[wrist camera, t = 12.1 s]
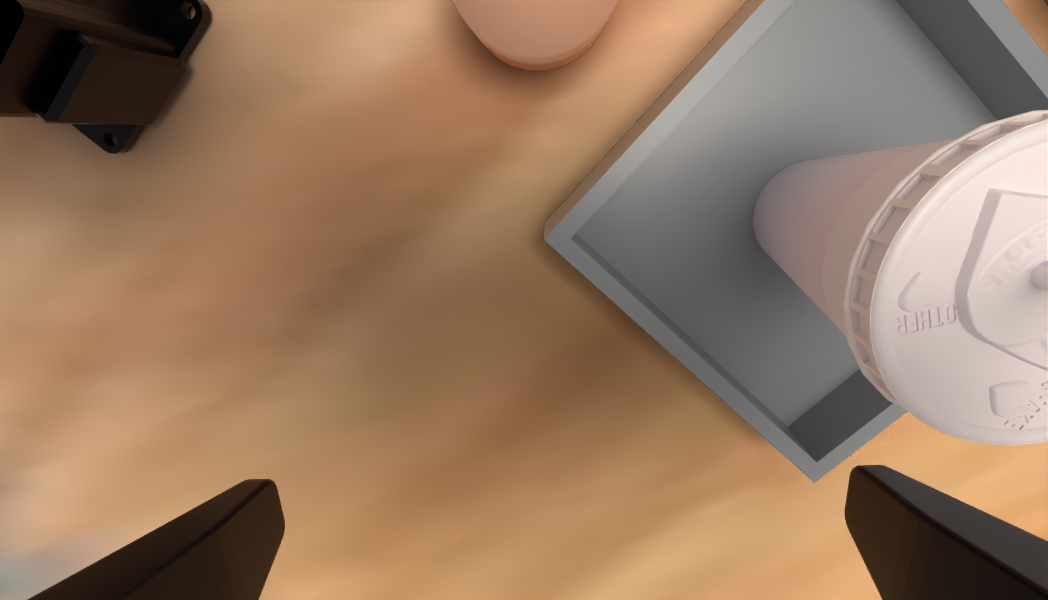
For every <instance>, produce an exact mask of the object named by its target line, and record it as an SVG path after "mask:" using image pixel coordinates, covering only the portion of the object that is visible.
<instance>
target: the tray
mask: <svg viewBox="0 0 1048 600" xmlns="http://www.w3.org/2000/svg"><path fill="white" fill-rule="evenodd" d="M1036 110H1048V57H1047V55H1046V54H1045V53H1044V52H1043V50H1042V49H1041V48H1040V47H1039V45H1038V44H1037V43H1036V42H1035V40H1034V39H1033V38H1032V37H1031V35H1030V34H1029V33H1028V32H1027V30H1026V29H1025V28H1024V27H1023V25H1022V24H1021V23H1020V22H1019V20H1018V19H1017V18H1016V17H1015V15H1014V14H1013V13H1012V12H1011V10H1010V9H1009V8H1008V7H1007V5H1006V4H1005V3H1004V2H1003V0H748V1H747V2H746V3H745V4H744V5H743V6H742V7H741V8H740V10H739V11H738V12H737V13H736V14H735V15H734V16H733V17H732V18H731V19H730V21H729V22H728V23H727V24H726V25H725V26H724V27H723V28H722V29H721V30H720V31H719V33H718V34H717V35H716V36H715V37H714V38H713V39H712V40H711V41H710V42H709V44H708V45H707V46H706V47H705V48H704V49H703V50H702V51H701V52H700V53H699V54H698V56H697V57H696V58H695V59H694V60H693V61H692V62H691V63H690V64H689V65H688V66H687V68H686V69H685V70H684V71H683V72H682V73H681V74H680V75H679V76H678V77H677V79H676V80H675V81H674V82H673V83H672V84H671V85H670V86H669V87H668V88H667V89H666V91H665V92H664V93H663V94H662V95H661V96H660V97H659V98H658V99H657V100H656V101H655V103H654V104H653V105H652V106H651V107H650V108H649V109H648V110H647V111H646V112H645V114H644V115H643V116H642V117H641V118H640V119H639V120H638V121H637V122H636V123H635V124H634V126H633V127H632V128H631V129H630V130H629V131H628V132H627V133H626V134H625V135H624V137H623V138H622V139H621V140H620V141H619V142H618V143H617V144H616V145H615V146H614V147H613V149H612V150H611V151H610V152H609V153H608V154H607V155H606V156H605V157H604V158H603V159H602V161H601V162H600V163H599V164H598V165H597V166H596V167H595V168H594V169H593V170H592V172H591V173H590V174H589V175H588V176H587V177H586V178H585V179H584V180H583V181H582V182H581V184H580V185H579V186H578V187H577V188H576V189H575V190H574V191H573V192H572V193H571V194H570V196H569V197H568V198H567V199H566V200H565V201H564V202H563V203H562V204H561V205H560V207H559V208H558V209H557V210H556V211H555V212H554V213H553V214H552V215H551V216H550V217H549V219H548V220H547V221H546V222H545V223H544V241H546V242H547V243H548V244H549V245H550V246H551V247H552V248H553V249H554V250H556V251H557V252H558V253H559V254H560V255H561V256H562V257H563V258H564V259H566V260H567V261H568V262H569V263H570V264H571V265H572V266H573V267H574V268H576V269H577V270H578V271H579V272H580V273H581V274H582V275H583V276H585V277H586V278H587V279H588V280H589V281H590V282H591V283H592V284H593V285H595V286H596V287H597V288H598V289H599V290H600V291H601V292H602V293H603V294H605V295H606V296H607V297H608V298H609V299H610V300H611V301H612V302H613V303H615V304H616V305H617V306H618V307H619V308H620V309H621V310H622V311H624V312H625V313H626V314H627V315H628V316H629V317H630V318H631V319H632V320H634V321H635V322H636V323H637V324H638V325H639V326H640V327H641V328H642V329H644V330H645V331H646V332H647V333H648V334H649V335H650V336H651V337H652V338H654V339H655V340H656V341H657V342H658V343H659V344H660V345H661V346H662V347H664V348H665V349H666V350H667V351H668V352H669V353H670V354H671V355H673V356H674V357H675V358H676V359H677V360H678V361H679V362H680V363H681V364H683V365H684V366H685V367H686V368H687V369H688V370H689V371H690V372H691V373H693V374H694V375H695V376H696V377H697V378H698V379H699V380H700V381H701V382H703V383H704V384H705V385H706V386H707V387H708V388H709V389H710V390H712V391H713V392H714V393H715V394H716V395H717V396H718V397H719V398H720V399H722V400H723V401H724V402H725V403H726V404H727V405H728V406H729V407H730V408H732V409H733V410H734V411H735V412H736V413H737V414H738V415H739V416H740V417H742V418H743V419H744V420H745V421H746V422H747V423H748V424H749V425H750V426H752V427H753V428H754V429H755V430H756V431H757V432H758V433H759V434H761V435H762V436H763V437H764V438H765V439H766V440H767V441H768V442H769V443H771V444H772V445H773V446H774V447H775V448H776V449H777V450H778V451H779V452H781V453H782V454H783V455H784V456H785V457H786V458H787V459H788V460H789V461H791V462H792V463H793V464H794V465H795V466H796V467H797V468H798V469H800V470H801V471H802V472H803V473H804V474H805V475H806V476H807V477H808V478H810V479H811V480H812V481H813V482H814V483H815V482H816V481H817V480H819V479H820V478H821V477H823V476H824V475H825V474H827V473H828V472H829V471H830V470H832V469H833V468H834V467H836V466H837V465H838V464H840V463H841V462H842V461H843V460H845V459H846V458H847V457H849V456H850V455H851V454H853V453H854V452H855V451H857V450H858V449H859V448H860V447H862V446H863V445H864V444H866V443H867V442H868V441H870V440H871V439H872V438H874V437H875V436H876V435H877V434H879V433H880V432H881V431H883V430H884V429H885V428H887V427H888V426H889V425H890V424H892V423H893V422H894V421H896V420H897V419H898V418H900V417H901V416H902V415H904V414H905V413H906V412H907V410H905V409H903V408H901V407H899V406H897V405H896V404H894V403H892V402H890V401H888V400H887V399H886V398H885V397H884V396H883V395H882V394H881V393H880V392H879V391H878V390H877V389H876V388H875V386H874V385H873V384H872V383H871V382H870V381H869V380H868V379H867V378H866V377H865V376H864V375H863V374H862V371H861V369H860V367H859V365H858V363H857V361H856V359H855V357H854V355H853V353H852V351H851V348H850V346H849V344H848V342H847V337H846V336H845V335H844V334H843V333H842V332H841V330H840V329H839V328H838V327H837V326H836V325H835V324H834V323H833V322H832V321H831V320H830V319H829V318H828V317H827V316H826V314H825V313H824V312H823V311H822V310H821V309H820V308H819V307H818V306H817V305H816V304H815V303H814V302H813V301H812V300H811V299H810V298H809V297H808V296H807V295H806V294H805V293H804V292H803V291H802V289H801V288H800V287H799V286H798V285H797V284H796V283H795V282H794V281H793V280H792V279H791V278H790V277H789V276H788V275H787V274H786V273H785V272H784V271H783V270H782V269H781V268H780V267H779V266H778V265H777V263H776V262H775V261H774V260H773V259H772V258H771V257H770V256H769V255H768V254H767V253H766V252H765V251H764V250H763V249H762V247H761V246H760V244H759V243H758V241H757V239H756V236H755V233H754V229H753V212H754V207H755V204H756V201H757V198H758V196H759V194H760V193H761V191H762V189H763V188H764V186H765V185H766V184H767V183H768V182H769V180H770V179H771V178H772V177H774V176H775V175H776V174H777V173H778V172H780V171H781V170H783V169H785V168H786V167H788V166H790V165H793V164H795V163H798V162H802V161H807V160H814V159H821V158H828V157H835V156H842V155H849V154H856V153H863V152H870V151H877V150H884V149H891V148H898V147H905V146H912V145H919V144H926V143H933V142H940V141H944V140H950V139H957V138H959V137H961V136H963V135H965V134H967V133H969V132H970V131H972V130H974V129H976V128H978V127H980V126H981V125H984V124H988V123H991V122H995V121H998V120H1002V119H1005V118H1009V117H1012V116H1016V115H1019V114H1023V113H1026V112H1030V111H1036Z"/></svg>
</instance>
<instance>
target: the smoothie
mask: <svg viewBox="0 0 1048 600" xmlns="http://www.w3.org/2000/svg"><path fill="white" fill-rule="evenodd" d="M753 229H754V233H755V236H756V239H757V241H758V243H759V244H760V246H761V247H762V249H763V250H764V251H765V252H766V253H767V254H768V255H769V256H770V257H771V258H772V259H773V260H774V261H775V262H776V263H777V265H778V266H779V267H780V268H781V269H782V270H783V271H784V272H785V273H786V274H787V275H788V276H789V277H790V278H791V279H792V280H793V281H794V282H795V283H796V284H797V285H798V286H799V287H800V288H801V289H802V291H803V292H804V293H805V294H806V295H807V296H808V297H809V298H810V299H811V300H812V301H813V302H814V303H815V304H816V305H817V306H818V307H819V308H820V309H821V310H822V311H823V312H824V313H825V314H826V316H827V317H828V318H829V319H830V320H831V321H832V322H833V323H834V324H835V325H836V326H837V327H838V328H839V329H840V330H841V332H842V333H843V334H844V335H845V336H846V337H847V342H848V344H849V346H850V348H851V351H852V353H853V355H854V357H855V359H856V361H857V363H858V365H859V367H860V369H861V371H862V374H863V375H864V376H865V377H866V378H867V379H868V380H869V381H870V382H871V383H872V384H873V385H874V386H875V388H876V389H877V390H878V391H879V392H880V393H881V394H882V395H883V396H884V397H885V398H886V399H887V400H888V401H890V402H892V403H894V404H896V405H897V406H899V407H901V408H903V409H905V410H907V411H908V412H910V413H911V414H912V415H914V416H915V417H916V418H917V419H919V420H920V421H922V422H924V423H925V424H927V425H928V426H930V427H932V428H934V429H936V430H938V431H940V432H942V433H944V434H947V435H950V436H953V437H956V438H959V439H963V440H967V441H971V442H976V443H983V444H991V445H1025V444H1035V443H1041V442H1047V441H1048V110H1036V111H1030V112H1026V113H1023V114H1019V115H1016V116H1012V117H1009V118H1005V119H1002V120H998V121H995V122H991V123H988V124H984V125H981V126H980V127H978V128H976V129H974V130H972V131H970V132H969V133H967V134H965V135H963V136H961V137H959V138H957V139H950V140H944V141H940V142H933V143H926V144H919V145H912V146H905V147H898V148H891V149H884V150H877V151H870V152H863V153H856V154H849V155H842V156H835V157H828V158H821V159H814V160H807V161H802V162H798V163H795V164H793V165H790V166H788V167H786V168H785V169H783V170H781V171H780V172H778V173H777V174H776V175H775V176H774V177H772V178H771V179H770V180H769V182H768V183H767V184H766V185H765V186H764V188H763V189H762V191H761V193H760V194H759V196H758V198H757V201H756V204H755V207H754V212H753Z"/></svg>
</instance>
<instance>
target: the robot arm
mask: <svg viewBox="0 0 1048 600" xmlns="http://www.w3.org/2000/svg"><path fill="white" fill-rule="evenodd" d="M191 5H193V6H194V8H195V12H196V13H195V16H194V17H193V18H192V19H191V18H190V17H189V15H188V9H189V7H190V6H191ZM209 19H210V12H209V9H208V7H207V5H206V4H205V3H204V2H203V0H0V117H32V118H40V119H42V120H43V121H44V122H46V123H49V124H72V125H73V126H74V127H75V128H77V129H78V130H79V131H80V132H82V133H83V134H84V135H86V136H87V137H88V138H89V139H91V140H92V141H93V142H94V143H96V144H97V145H98V146H99V147H101V148H102V149H103V150H105V151H107V152H108V153H114V154H116V153H125V152H128V151H129V150H130V149H131V147H132V146H133V144H134V142H135V141H136V139H137V138H138V136H139V134H140V133H141V131H142V130H143V128H144V126H145V125H146V124H151V123H152V122H153V120H154V119H155V117H156V115H157V114H158V112H159V110H160V109H161V107H162V106H163V104H164V102H165V101H166V99H167V98H168V96H169V94H170V93H171V91H172V90H173V88H174V86H175V85H176V83H177V82H178V80H179V78H180V77H181V75H182V73H183V72H184V62H185V60H186V58H187V57H188V55H189V54H190V52H191V50H192V49H193V47H194V45H195V44H196V42H197V41H198V39H199V37H200V36H201V34H202V33H203V31H204V29H205V28H206V26H207V24H208V22H209ZM113 133H114V134H115V136H116V137H117V140H118V141H117V144H115V143H114V142H113V140H112V135H113ZM845 520H846V524H847V527H848V529H849V532H850V534H851V536H852V538H853V540H854V542H855V544H856V546H857V548H858V550H859V552H860V554H861V556H862V558H863V561H864V563H865V565H866V567H867V569H868V571H869V573H870V575H871V577H872V579H873V581H874V583H875V585H876V587H877V590H878V592H879V594H880V596H881V598H882V600H1048V541H1046V540H1044V539H1042V538H1040V537H1037V536H1035V535H1033V534H1031V533H1029V532H1027V531H1024V530H1022V529H1020V528H1018V527H1016V526H1014V525H1012V524H1009V523H1007V522H1005V521H1003V520H1001V519H999V518H996V517H994V516H992V515H990V514H988V513H986V512H984V511H981V510H979V509H977V508H975V507H973V506H971V505H968V504H966V503H964V502H962V501H960V500H958V499H956V498H953V497H951V496H949V495H947V494H945V493H943V492H940V491H938V490H936V489H934V488H932V487H930V486H927V485H925V484H923V483H921V482H919V481H917V480H915V479H912V478H910V477H908V476H906V475H904V474H902V473H899V472H897V471H895V470H893V469H891V468H889V467H886V466H883V465H864V466H856V467H854V468H853V469H852V471H851V473H850V478H849V485H848V491H847V498H846V505H845ZM284 530H285V520H284V516H283V511H282V507H281V503H280V498H279V494H278V490H277V486H276V484H275V483H274V481H272V480H270V479H249V480H245V481H243V482H241V483H239V484H237V485H235V486H234V487H232V488H230V489H228V490H226V491H225V492H223V493H221V494H219V495H217V496H215V497H214V498H212V499H210V500H208V501H206V502H204V503H203V504H201V505H199V506H197V507H195V508H194V509H192V510H190V511H188V512H186V513H184V514H183V515H181V516H179V517H177V518H175V519H173V520H172V521H170V522H168V523H166V524H164V525H163V526H161V527H159V528H157V529H155V530H153V531H152V532H150V533H148V534H146V535H144V536H143V537H141V538H139V539H137V540H135V541H133V542H132V543H130V544H128V545H126V546H124V547H122V548H121V549H119V550H117V551H115V552H113V553H112V554H110V555H108V556H106V557H104V558H102V559H101V560H99V561H97V562H95V563H93V564H92V565H90V566H88V567H86V568H84V569H82V570H81V571H79V572H77V573H75V574H73V575H71V576H70V577H68V578H66V579H64V580H62V581H61V582H59V583H57V584H55V585H53V586H51V587H50V588H48V589H46V590H44V591H42V592H40V593H39V594H37V595H35V596H33V597H31V598H30V599H28V600H259V597H260V595H261V592H262V590H263V587H264V585H265V582H266V580H267V577H268V574H269V572H270V569H271V567H272V564H273V562H274V559H275V557H276V554H277V551H278V549H279V546H280V544H281V541H282V538H283V535H284Z"/></svg>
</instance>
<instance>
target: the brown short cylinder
mask: <svg viewBox="0 0 1048 600" xmlns="http://www.w3.org/2000/svg"><path fill="white" fill-rule="evenodd" d="M452 1H453V3H454V5H455V7H456V9H457V11H458V12H459V14H460V15H461V16H462V18H463V19H464V21H465V22H466V23H467V25H468V26H469V27H470V29H471V30H472V31H473V32H474V34H475V35H476V36H477V37H478V39H479V40H480V41H481V43H482V44H483V45H484V46H485V47H486V48H487V49H488V50H489V51H490V52H491V53H492V54H493V55H494V56H496V57H497V58H498V59H500V60H502V61H503V62H505V63H507V64H509V65H511V66H513V67H517V68H520V69H524V70H530V71H544V70H551V69H555V68H558V67H561V66H563V65H566V64H568V63H570V62H572V61H573V60H575V59H577V58H578V57H579V56H580V55H582V54H583V53H584V52H585V51H586V50H587V49H588V48H589V47H590V46H591V45H592V44H593V43H594V42H595V40H596V39H597V38H598V36H599V35H600V33H601V31H602V29H603V28H604V26H605V24H606V22H607V20H608V19H609V17H610V15H611V13H612V11H613V9H614V8H615V6H616V4H617V2H618V0H452Z"/></svg>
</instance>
